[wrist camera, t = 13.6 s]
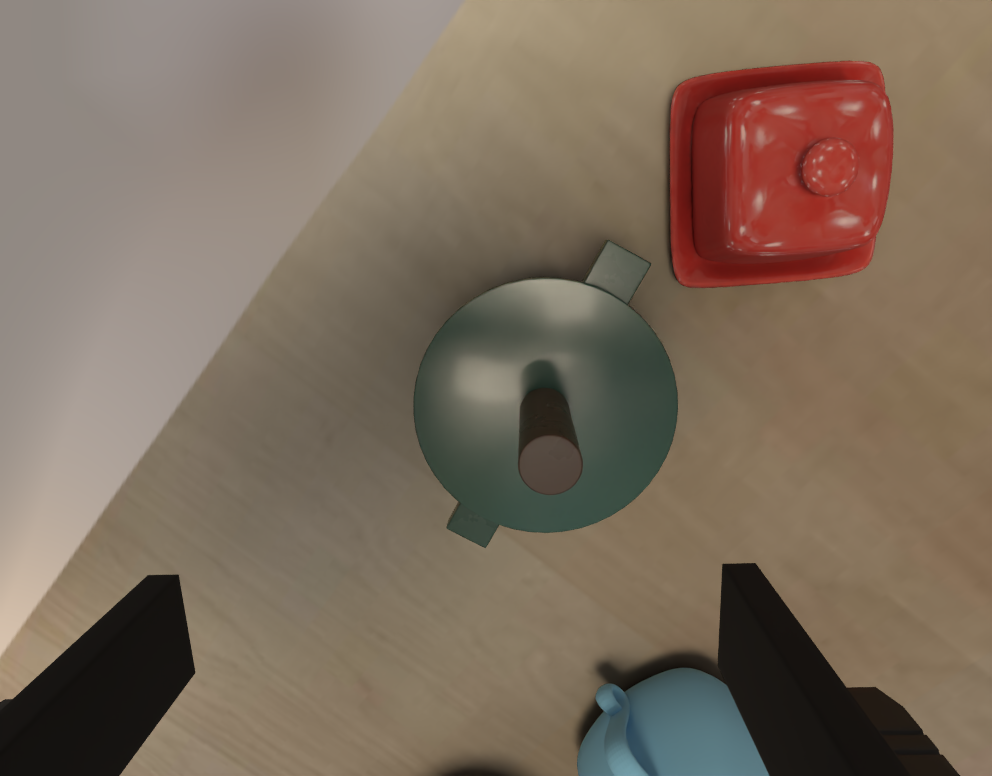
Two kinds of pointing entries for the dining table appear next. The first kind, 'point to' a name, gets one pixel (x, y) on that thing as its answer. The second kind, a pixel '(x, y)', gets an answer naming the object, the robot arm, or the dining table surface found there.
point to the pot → (610, 274)
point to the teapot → (669, 730)
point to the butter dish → (778, 173)
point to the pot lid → (545, 404)
